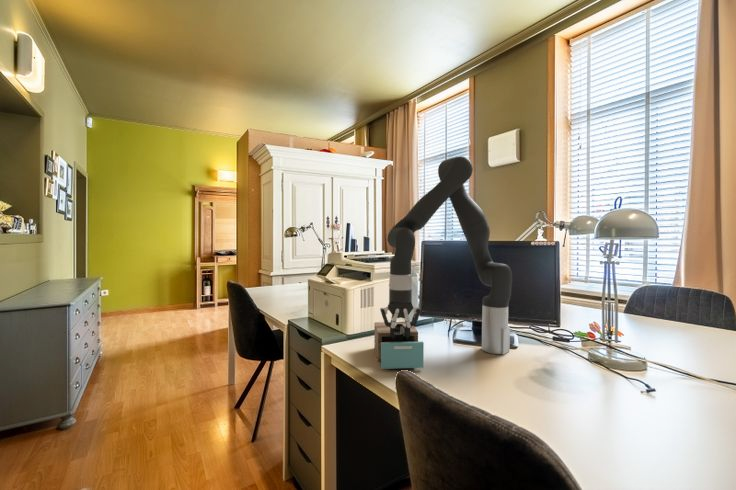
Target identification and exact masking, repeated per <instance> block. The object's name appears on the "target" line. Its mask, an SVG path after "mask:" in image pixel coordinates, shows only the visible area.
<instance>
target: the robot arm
mask: <svg viewBox="0 0 736 490" xmlns="http://www.w3.org/2000/svg"><path fill="white" fill-rule="evenodd" d="M473 169H474V168H473V164H472V162H471V160H470V159H469V158H468V157H466V156H455V157H452V158H448V159H445V160H443V161H441V162H440V163H439V165H438V168H437V175H438V178H439V182H438V183H437V184H436V185H435V186H434V187H433V188H432V189H430V190H429V191H428V192H426V193H425V194H424V195H423V196H422V197H420V199H418V201H416V203H415V204H414V205H413V207H411V209H410V210H409V211H408V213H407V214H406V215H405V216H404V217H403V218H402V219H400V220H399V221H397V222H396V223H395V224H394V226H392V228H390V231H389V232H388V234H387V239H386V240H387V243H388V245H389V246H390V247H391V248H394V255H393V256H392V257H391V258H390V262H389V282H388V283H389V284H388V291H389V293H388V294H389V295H388V305H387V306H385V307H381V308H380V309H379V311H380V313H381V316H382V320H383V322H384V323H385V325H386V326H388V327H390V336H391V337H392V339H395V328H394V326H395V323H396V322H397V319H400V318H401V319H404V322H405V323H406V326H405V329H406V330H405V338H406V339H408V337H410V328H411V327H412V326H414V327H416V325H417V323H418V320H419V318H420V315H421V312H422V310H421V309H420V308H419V307H417V306H413V305H414V304H413V301H412V300H413V296H412V295H413V293H412V292H413V287H412V286H413V279H412V261H413V260H412V259H413V256H414V251H415V247H416V237H415V233H416V232H417V231H419V230H421V229H423V228H424V227H425V226H426V225H427V223H428V222H429V221H430V220H431V219H432V217H433V216H434V215H435V213H436V212H437V211H438V210H439V208H441V206H442V205H444V203H445V202H446V201H447V200H448V199H449V200H450V202H451V205H452V207H453V209H454V213H455V214H456V217H457V219H458V223H459V224H460V228H461V230H462V233H463V235H464V237H465V240H466V242H467V245H468V247H469V248H468V249H469V250H470V253H471V255H472V259H473V263H474V266H475V270H476V273H477V276H478V279H479V281H480V282H481V284H483V285H484V286H487V287H491V288H490V293H489V294H488V295H485V296H483V297H482V306H481V307H482V314H481V315H482V316H481V350H482V351H484V352H486V353H488V354H492V355H501V356H502V355H503V356H504V355H506V354H507V353H508V352H509V351H510V347H511V346H510V343H511V342H510V339H511V334H510V333H511V326H510V325H509V302H510V300H511V296H512V284H513V273H512V272H513V271H512V269H511V267H510V266H509V265H508V264H507V263H506V264H505V263H501V262H494V261H493V259H492V257H491V254H490V251H489V241H490V233H491V232H490V231H491V230H490V226H489V223H488V220H487V217H486V215H485V213H484V211H483V210H482V209H481V207H480V206H479V205H478V203H476V202H475V200H474V199H472V197H471V196H470V195H469V193H468V191H467V189H466V188H465V183H467V181H469V179H470V178H471V177H472V174H473V171H474V170H473ZM388 311H389V312H390V314H391V317H390V318H391V319H390V321H389V319H388V317H387V314H388ZM411 312H412V313H413V315H412V319H410V318H409V315H410V313H411ZM410 320H411V321H410Z"/></svg>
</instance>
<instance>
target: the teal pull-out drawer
mask: <svg viewBox="0 0 736 490" xmlns="http://www.w3.org/2000/svg"><path fill="white" fill-rule="evenodd" d="M424 343H425V342H424V341H418V342H381V361H380V368H381V369H382V370H385V369H421V368H422V369H423V368H424Z"/></svg>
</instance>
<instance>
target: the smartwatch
mask: <svg viewBox="0 0 736 490" xmlns="http://www.w3.org/2000/svg"><path fill="white" fill-rule="evenodd" d="M405 330H406V329H405V327H404V326H403V324H397V325H396V326H395V335H396V339H402V337H403V334H404V333H405Z"/></svg>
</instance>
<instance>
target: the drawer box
mask: <svg viewBox="0 0 736 490" xmlns="http://www.w3.org/2000/svg"><path fill="white" fill-rule="evenodd" d="M397 324H403V326H404V327H405V326H406V323H405V321H396V323H395V326H396V325H397ZM395 326H394V328H395ZM381 342H419V331H418V330H417V329H416V326H412V327H411V328H410V337H408V339H406V338H405V333H404V334H403V337H402V339H396V335H395V339H392V337H391V336H390V327H388V326H386V325H385V323H384V321H379V322H374V342H373V343H374V346H373V347H374V351H375V355H376V358H377V359H378V360H377V359H376V360H377V362H378V361H380V362H381Z"/></svg>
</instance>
